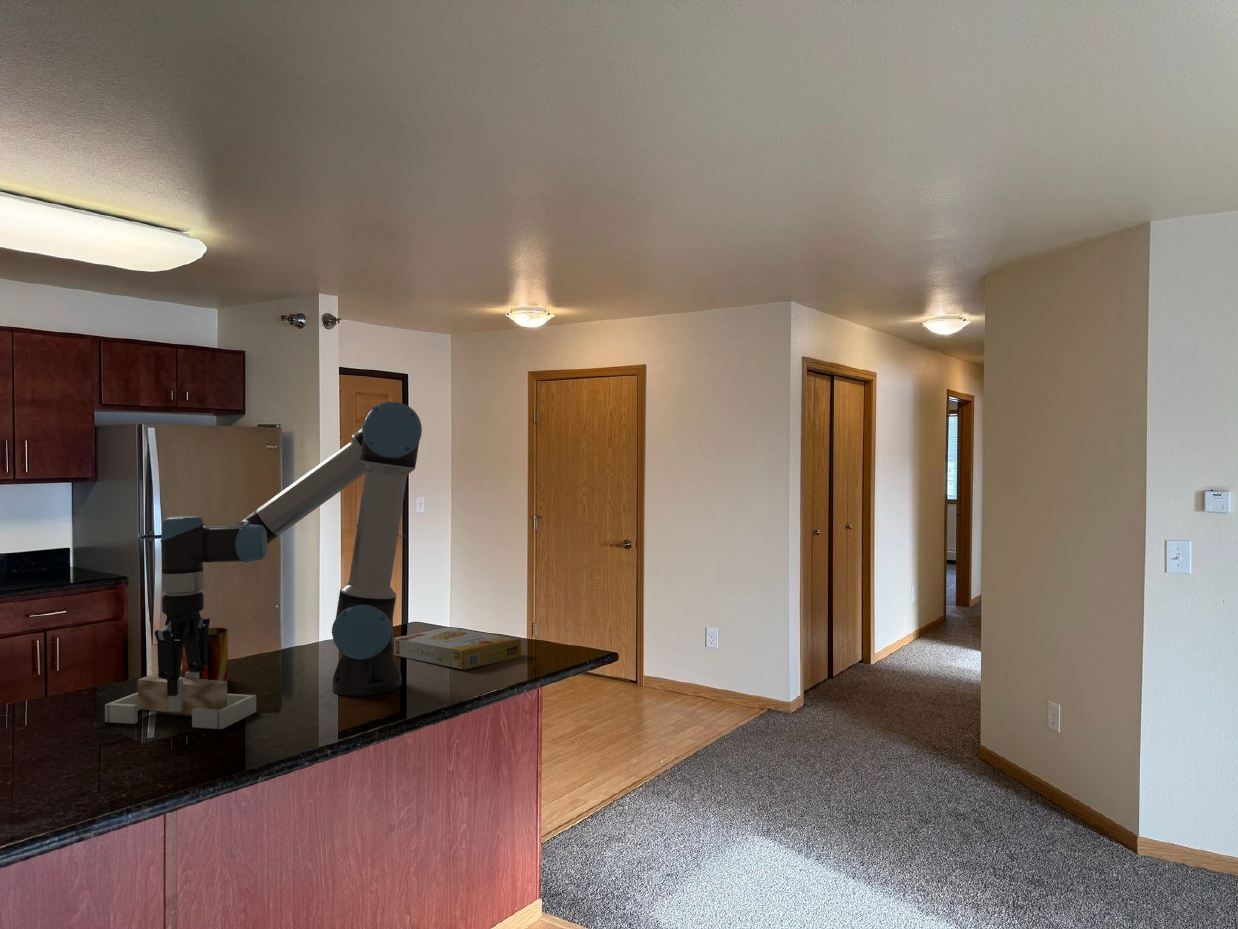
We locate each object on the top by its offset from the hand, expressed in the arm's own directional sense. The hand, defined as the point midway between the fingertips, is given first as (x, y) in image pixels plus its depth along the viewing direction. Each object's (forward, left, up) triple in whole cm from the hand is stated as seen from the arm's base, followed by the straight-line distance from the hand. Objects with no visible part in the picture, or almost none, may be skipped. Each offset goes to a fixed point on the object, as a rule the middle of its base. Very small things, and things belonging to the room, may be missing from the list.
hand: (184, 707), depth 171 cm
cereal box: (-36, -58, -3) cm, 68 cm away
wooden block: (+1, 0, -1) cm, 1 cm away
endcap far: (+10, 0, -2) cm, 10 cm away
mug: (+11, -23, -2) cm, 26 cm away
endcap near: (-9, 0, -2) cm, 9 cm away
